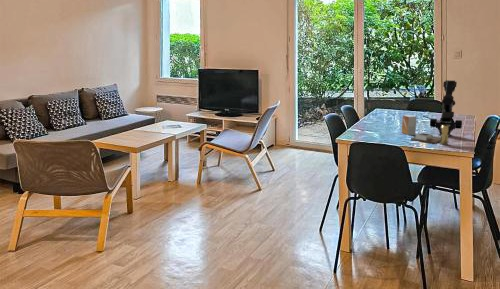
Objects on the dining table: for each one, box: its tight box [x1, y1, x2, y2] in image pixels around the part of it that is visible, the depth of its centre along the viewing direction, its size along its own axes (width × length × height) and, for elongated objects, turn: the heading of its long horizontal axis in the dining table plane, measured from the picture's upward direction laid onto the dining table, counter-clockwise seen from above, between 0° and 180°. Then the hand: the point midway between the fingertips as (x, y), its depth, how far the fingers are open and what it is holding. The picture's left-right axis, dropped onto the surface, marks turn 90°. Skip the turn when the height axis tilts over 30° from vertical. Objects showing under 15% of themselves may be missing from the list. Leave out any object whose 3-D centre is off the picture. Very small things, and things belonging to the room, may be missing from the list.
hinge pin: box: [439, 125, 449, 146], centre depth 285 cm, size 4×4×12 cm
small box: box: [401, 114, 417, 136], centre depth 319 cm, size 8×6×13 cm
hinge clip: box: [415, 132, 434, 141], centre depth 297 cm, size 8×8×3 cm
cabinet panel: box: [410, 136, 441, 144], centre depth 299 cm, size 16×16×1 cm
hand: (444, 134), depth 284 cm, fingers closed on hinge pin, 4 cm apart
